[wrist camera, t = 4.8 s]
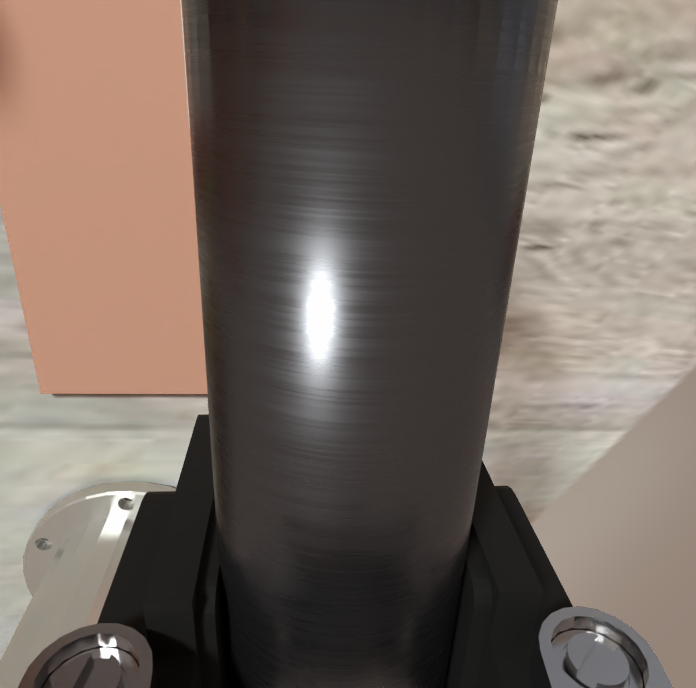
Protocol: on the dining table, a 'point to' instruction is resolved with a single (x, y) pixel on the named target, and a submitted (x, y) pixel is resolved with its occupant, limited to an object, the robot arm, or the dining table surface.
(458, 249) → the cylinder
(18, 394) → the dining table surface
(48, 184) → the mat
